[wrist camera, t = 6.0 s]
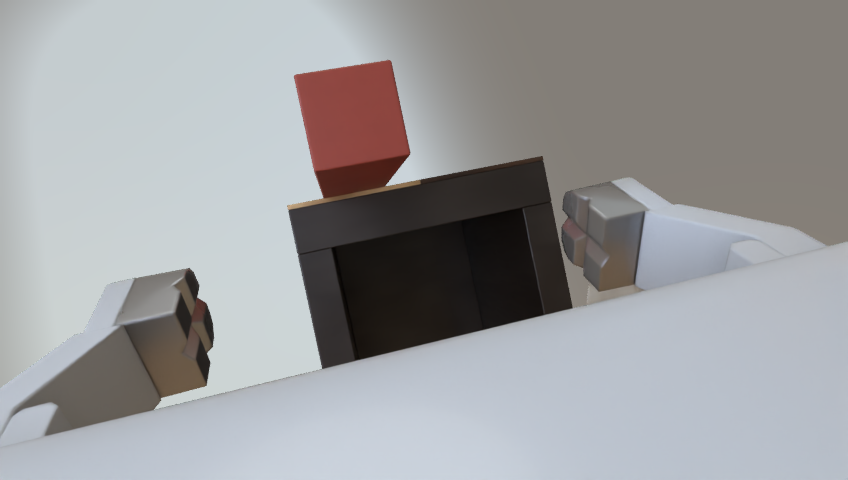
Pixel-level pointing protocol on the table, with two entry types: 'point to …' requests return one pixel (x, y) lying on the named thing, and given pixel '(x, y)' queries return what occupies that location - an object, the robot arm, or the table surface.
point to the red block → (353, 126)
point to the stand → (429, 259)
